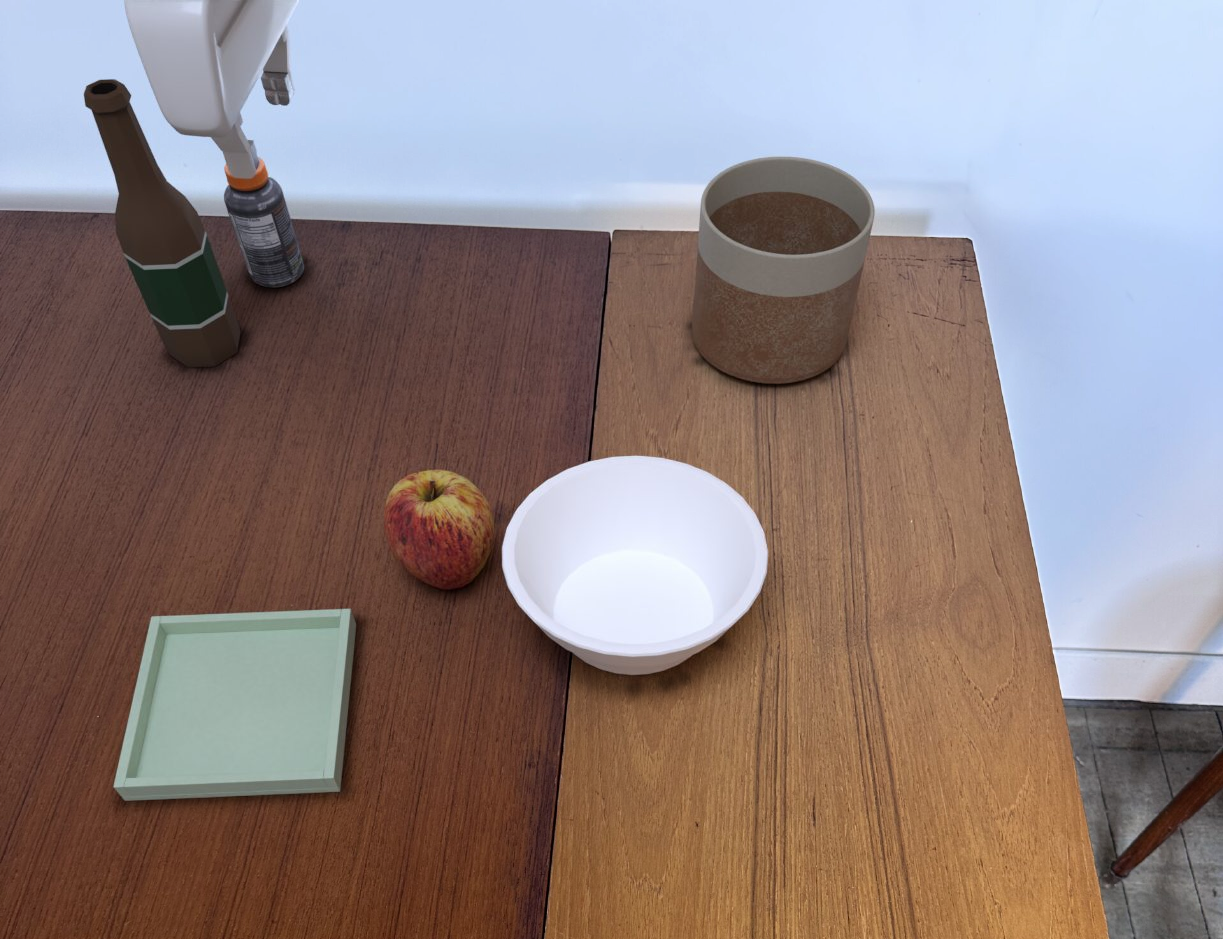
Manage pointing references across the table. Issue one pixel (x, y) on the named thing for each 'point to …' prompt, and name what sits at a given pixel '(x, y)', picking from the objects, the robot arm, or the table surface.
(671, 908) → the table surface
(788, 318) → the planter
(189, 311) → the beer bottle
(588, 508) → the bowl
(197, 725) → the tray
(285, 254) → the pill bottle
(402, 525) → the apple
